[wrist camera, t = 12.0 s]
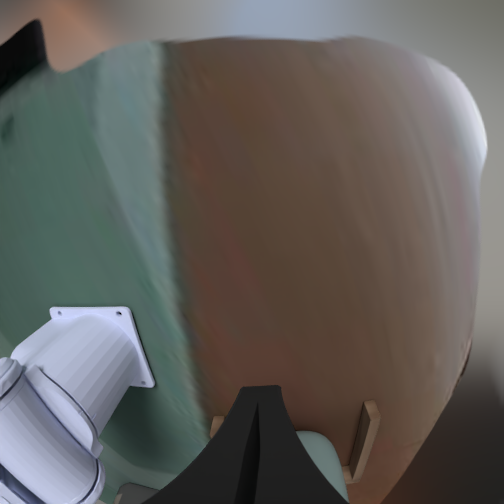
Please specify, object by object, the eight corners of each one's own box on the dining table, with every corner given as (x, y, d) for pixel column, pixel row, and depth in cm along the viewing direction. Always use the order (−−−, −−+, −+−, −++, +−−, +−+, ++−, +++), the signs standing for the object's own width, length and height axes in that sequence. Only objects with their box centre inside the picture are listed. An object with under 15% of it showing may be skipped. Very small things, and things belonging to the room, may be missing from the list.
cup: (340, 416, 22) (361, 500, 12) (329, 456, 24) (340, 527, 14) (258, 421, 22) (253, 511, 13) (260, 461, 24) (256, 534, 15)
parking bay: (235, 478, 26) (234, 493, 23) (213, 415, 22) (209, 435, 20) (355, 467, 24) (359, 481, 22) (373, 399, 21) (381, 417, 19)
